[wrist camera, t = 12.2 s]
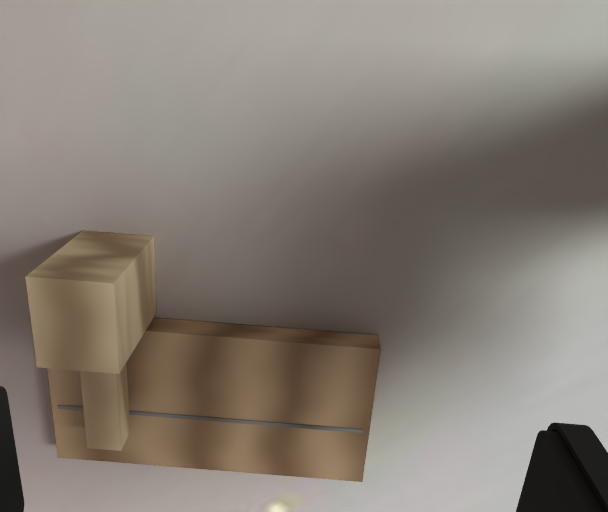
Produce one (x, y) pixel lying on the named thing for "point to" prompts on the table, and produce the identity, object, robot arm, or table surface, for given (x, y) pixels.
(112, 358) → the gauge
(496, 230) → the table surface
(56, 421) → the board
